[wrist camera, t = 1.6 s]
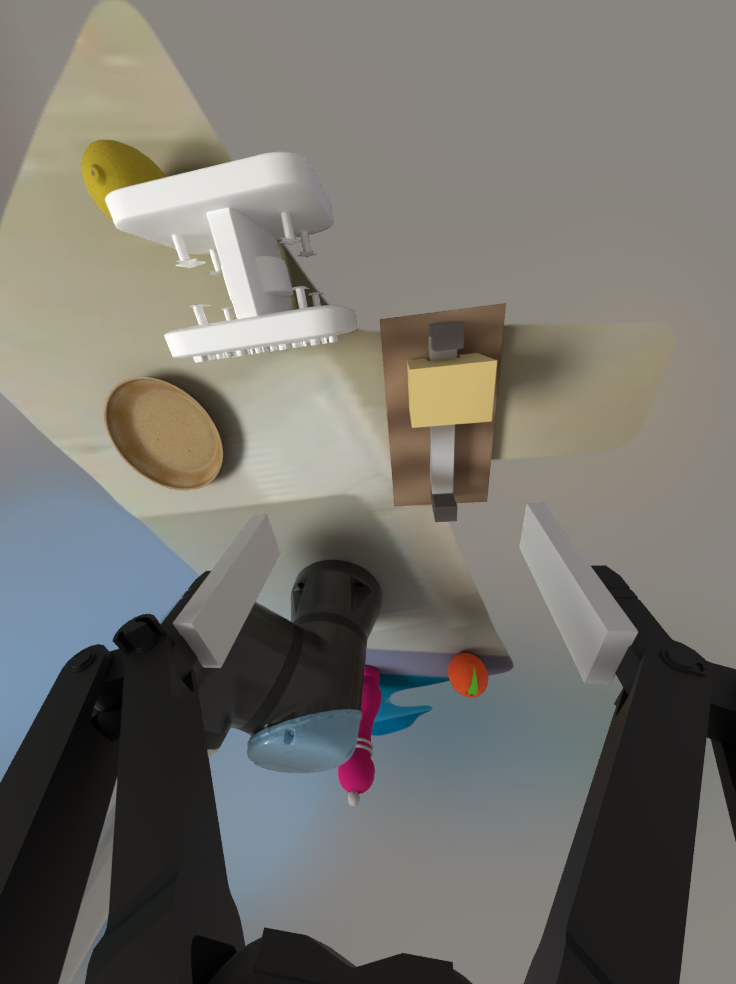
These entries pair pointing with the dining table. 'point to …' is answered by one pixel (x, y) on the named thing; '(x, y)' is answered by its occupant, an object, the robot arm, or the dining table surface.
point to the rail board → (417, 438)
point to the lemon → (115, 169)
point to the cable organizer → (240, 249)
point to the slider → (451, 390)
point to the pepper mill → (362, 741)
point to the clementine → (468, 674)
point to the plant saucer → (163, 433)
